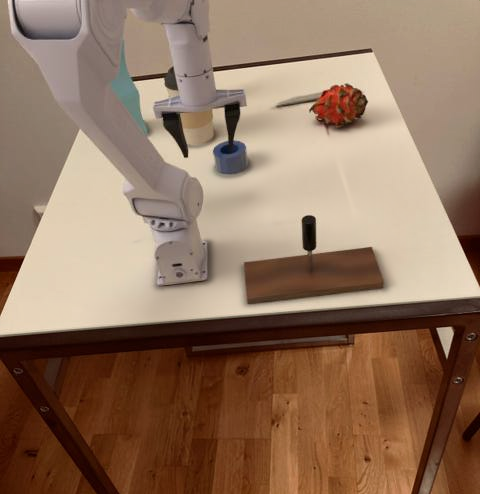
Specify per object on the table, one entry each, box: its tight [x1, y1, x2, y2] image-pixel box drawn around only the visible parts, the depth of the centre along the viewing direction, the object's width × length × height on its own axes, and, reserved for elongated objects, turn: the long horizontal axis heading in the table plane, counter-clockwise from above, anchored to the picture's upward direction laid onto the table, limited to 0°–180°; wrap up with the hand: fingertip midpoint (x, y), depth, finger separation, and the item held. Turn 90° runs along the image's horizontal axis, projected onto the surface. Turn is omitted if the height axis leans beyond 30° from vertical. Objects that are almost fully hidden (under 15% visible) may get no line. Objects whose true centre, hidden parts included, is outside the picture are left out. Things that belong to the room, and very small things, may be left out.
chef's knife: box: [275, 87, 356, 107], centre depth 116 cm, size 19×1×3 cm
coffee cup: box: [163, 66, 215, 145], centre depth 105 cm, size 9×9×15 cm
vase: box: [109, 38, 149, 135], centre depth 109 cm, size 8×8×20 cm
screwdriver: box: [301, 214, 317, 272], centre depth 74 cm, size 2×2×9 cm
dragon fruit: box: [308, 82, 369, 129], centre depth 105 cm, size 8×8×12 cm
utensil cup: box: [212, 140, 249, 175], centre depth 99 cm, size 6×6×4 cm
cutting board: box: [243, 246, 385, 305], centre depth 77 cm, size 8×20×1 cm, turn 93°
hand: (208, 151), depth 86 cm, fingers open, 7 cm apart
